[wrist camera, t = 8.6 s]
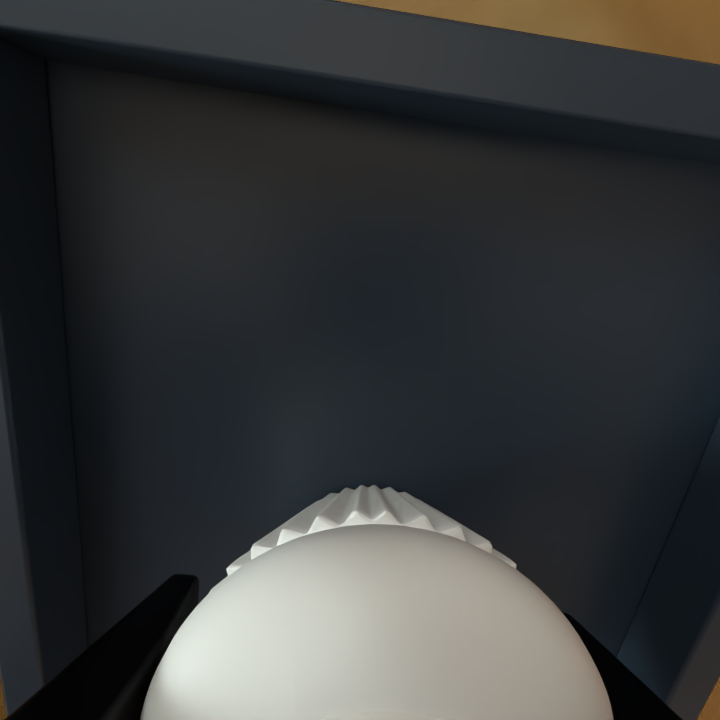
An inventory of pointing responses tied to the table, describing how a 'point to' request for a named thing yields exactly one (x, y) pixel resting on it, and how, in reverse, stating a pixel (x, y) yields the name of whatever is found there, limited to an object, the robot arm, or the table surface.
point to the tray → (354, 309)
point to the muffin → (375, 627)
